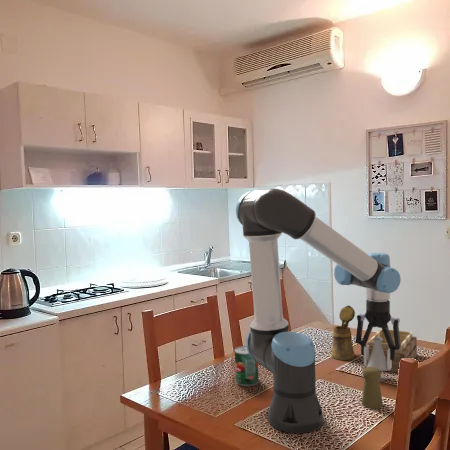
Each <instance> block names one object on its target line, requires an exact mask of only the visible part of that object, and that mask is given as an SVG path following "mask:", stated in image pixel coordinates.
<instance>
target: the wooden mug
mask: <svg viewBox="0 0 450 450" xmlns="http://www.w3.org/2000/svg"><path fill="white" fill-rule="evenodd" d="M355 314H356V312H355V309H354V307H352V306H351V305H346V306H344V307H342V308H341V309H340V311H339V319H340V320H341V325H337V326H334V327H333V331H332V336H333V337H332V347H331V354H330V355H331V356H330V357H331V358H333V359H335V360H339V361H349V360H354V359H355V358H356V357H355V356H356V355H355V351H354V346H353V340H352V339H353V338H352V330H351V328H350V327H349V323H350V322H351V321H353V320H354V318H355V316H356V315H355Z"/></svg>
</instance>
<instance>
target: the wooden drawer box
mask: <svg viewBox="0 0 450 450" xmlns="http://www.w3.org/2000/svg"><path fill="white" fill-rule="evenodd" d="M417 339H418V338H417V336H414V335H412V340H411V341H410V343H409V344H408V345H407V347H406V348H405V349H404V351H403V352H396V351H395V358H394V360H392V368H391V369H390V370H387V371H388V372H392V371H393V373H398V369H399V362H400V359H401V358H414V359H416V357H417V353H418V350H417V348H418V346H417V345H418V343H417ZM366 345H368V343H367V344H366ZM372 350H373V348H369V356H368V361H369V359H370V356H371V353H372ZM387 351H388V350H383V352H384V355H385V358H386V361H387ZM415 356H416V357H415ZM363 367H364V368H366V366H364V365H363ZM387 371H386V372H387Z"/></svg>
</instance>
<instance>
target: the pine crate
mask: <svg viewBox="0 0 450 450" xmlns="http://www.w3.org/2000/svg"><path fill="white" fill-rule="evenodd" d="M389 331H390V334H391V337H392V340H393V342H394V345H395V340H394V332H393V329H389ZM399 334H400V343H401V347H400V349H399V350H395V351H396V352H403V351H404V349H405V348H406V347H407V345H408V344H409V343H410V341H411V340H412V336H413V332H412V331H406V330H399ZM373 338H382V339H383V341H382V348H383V350H388V349H389V346H388V343H387V340H386V338H385V335H384V332H383V331H382V328H379V330H378V331H377V332H376V333H375V334H373V336H372V337H371V338H369V339H368V341H367V344H368V345H369V348H373V346H374V340H373Z"/></svg>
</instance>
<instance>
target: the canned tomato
mask: <svg viewBox="0 0 450 450" xmlns="http://www.w3.org/2000/svg"><path fill="white" fill-rule="evenodd" d="M234 368H235V369H234V370H235V371H234V372H235V383H236V384H237V385H238V386H243V387H250V386H251V385H252V386H255V385H258V383H259V382H260V379H259V364H258V363H257V362H255V361H254V360H253V358H252V357H251V356H250V355H249V353H248V351H247V347H246V345H242V346H237V347H235V348H234ZM252 386H251V387H252Z"/></svg>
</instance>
